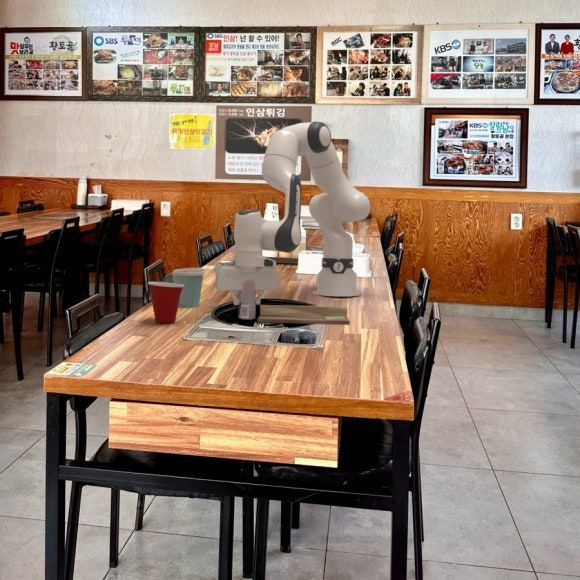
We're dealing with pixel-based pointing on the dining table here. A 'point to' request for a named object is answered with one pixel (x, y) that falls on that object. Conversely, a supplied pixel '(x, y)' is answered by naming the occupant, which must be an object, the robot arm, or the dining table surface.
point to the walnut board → (303, 314)
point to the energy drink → (247, 301)
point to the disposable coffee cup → (189, 286)
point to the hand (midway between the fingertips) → (247, 304)
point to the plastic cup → (165, 300)
